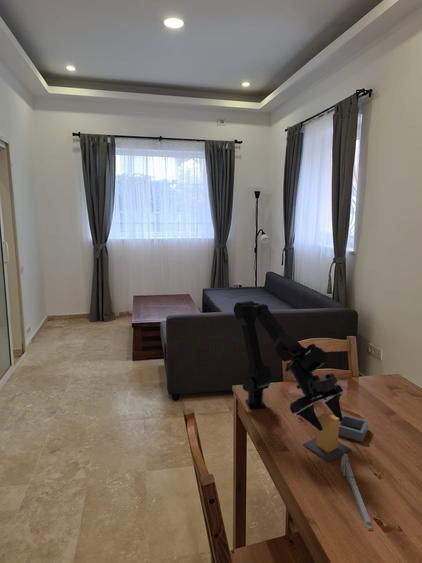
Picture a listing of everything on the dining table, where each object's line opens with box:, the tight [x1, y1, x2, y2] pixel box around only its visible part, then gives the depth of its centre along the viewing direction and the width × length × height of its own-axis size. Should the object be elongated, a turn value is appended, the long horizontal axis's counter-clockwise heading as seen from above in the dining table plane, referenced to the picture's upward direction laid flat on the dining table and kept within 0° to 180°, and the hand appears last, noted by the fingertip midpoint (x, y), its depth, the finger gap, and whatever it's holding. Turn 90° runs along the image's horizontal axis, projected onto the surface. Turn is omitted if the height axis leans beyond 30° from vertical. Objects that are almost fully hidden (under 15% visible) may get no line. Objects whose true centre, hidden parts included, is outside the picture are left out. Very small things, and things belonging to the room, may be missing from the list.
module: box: [315, 412, 339, 452], centre depth 114 cm, size 4×4×10 cm
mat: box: [302, 437, 352, 463], centre depth 115 cm, size 10×10×1 cm
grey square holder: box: [338, 413, 369, 443], centre depth 123 cm, size 8×8×3 cm
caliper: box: [340, 453, 373, 531], centre depth 94 cm, size 20×1×6 cm, turn 178°
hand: (331, 425), depth 112 cm, fingers open, 9 cm apart
